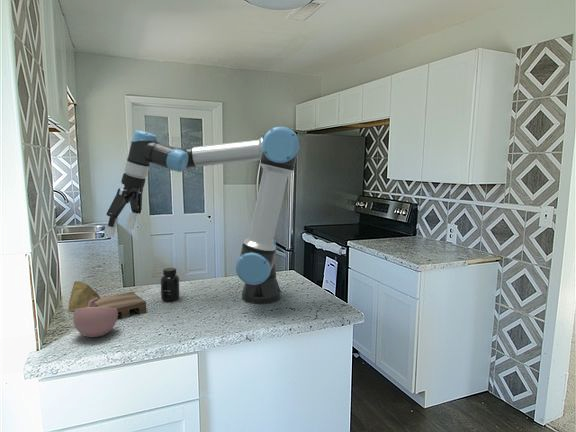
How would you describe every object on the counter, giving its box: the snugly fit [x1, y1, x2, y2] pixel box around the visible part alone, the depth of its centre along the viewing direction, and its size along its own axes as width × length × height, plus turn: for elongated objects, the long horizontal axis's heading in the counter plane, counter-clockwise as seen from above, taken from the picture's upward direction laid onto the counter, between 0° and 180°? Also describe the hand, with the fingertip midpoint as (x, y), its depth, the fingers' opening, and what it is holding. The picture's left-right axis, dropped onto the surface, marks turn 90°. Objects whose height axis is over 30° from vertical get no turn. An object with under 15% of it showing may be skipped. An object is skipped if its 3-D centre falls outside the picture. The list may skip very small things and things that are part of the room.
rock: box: [67, 280, 101, 313], centre depth 139 cm, size 11×9×10 cm
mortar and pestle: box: [72, 297, 119, 338], centre depth 115 cm, size 12×12×12 cm
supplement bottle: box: [160, 267, 181, 303], centre depth 146 cm, size 7×7×12 cm
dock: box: [93, 291, 148, 319], centre depth 134 cm, size 14×14×4 cm
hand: (119, 232), depth 136 cm, fingers open, 13 cm apart
